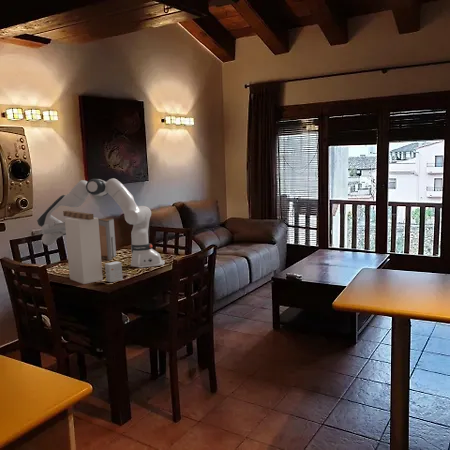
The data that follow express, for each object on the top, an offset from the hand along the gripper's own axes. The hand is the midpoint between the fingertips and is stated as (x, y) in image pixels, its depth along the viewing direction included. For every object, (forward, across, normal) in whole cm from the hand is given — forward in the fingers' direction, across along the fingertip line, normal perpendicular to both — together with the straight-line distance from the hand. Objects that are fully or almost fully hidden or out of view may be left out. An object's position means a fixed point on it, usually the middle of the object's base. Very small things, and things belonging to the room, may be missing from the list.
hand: (61, 222), depth 295 cm
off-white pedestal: (+7, 0, +42) cm, 42 cm away
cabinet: (-32, +42, +19) cm, 56 cm away
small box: (+20, +10, +50) cm, 55 cm away
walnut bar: (+22, 0, +8) cm, 23 cm away
